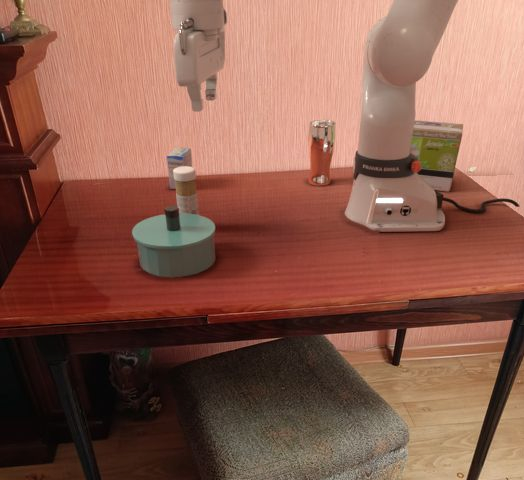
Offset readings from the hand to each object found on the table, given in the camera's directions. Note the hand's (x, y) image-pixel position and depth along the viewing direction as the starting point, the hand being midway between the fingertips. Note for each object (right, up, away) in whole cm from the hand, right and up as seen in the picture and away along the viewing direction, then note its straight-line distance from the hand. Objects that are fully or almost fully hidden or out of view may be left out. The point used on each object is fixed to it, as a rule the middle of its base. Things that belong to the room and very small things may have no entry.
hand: (204, 105), depth 97 cm
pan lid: (-6, -23, +2) cm, 24 cm away
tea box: (+53, -1, +42) cm, 68 cm away
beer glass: (+26, 0, +44) cm, 51 cm away
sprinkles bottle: (-5, -19, +18) cm, 27 cm away
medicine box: (-11, -1, +43) cm, 44 cm away
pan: (-6, -28, +6) cm, 29 cm away
